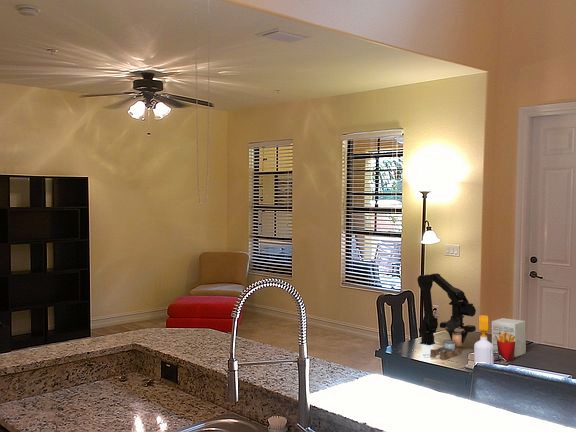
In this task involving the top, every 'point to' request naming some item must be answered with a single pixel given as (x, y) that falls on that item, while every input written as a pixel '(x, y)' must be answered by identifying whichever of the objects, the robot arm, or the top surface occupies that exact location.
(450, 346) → the slate jar
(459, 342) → the terracotta jar
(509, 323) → the supplement box
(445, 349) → the pusher
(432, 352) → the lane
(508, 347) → the french fries
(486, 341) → the soap bottle
